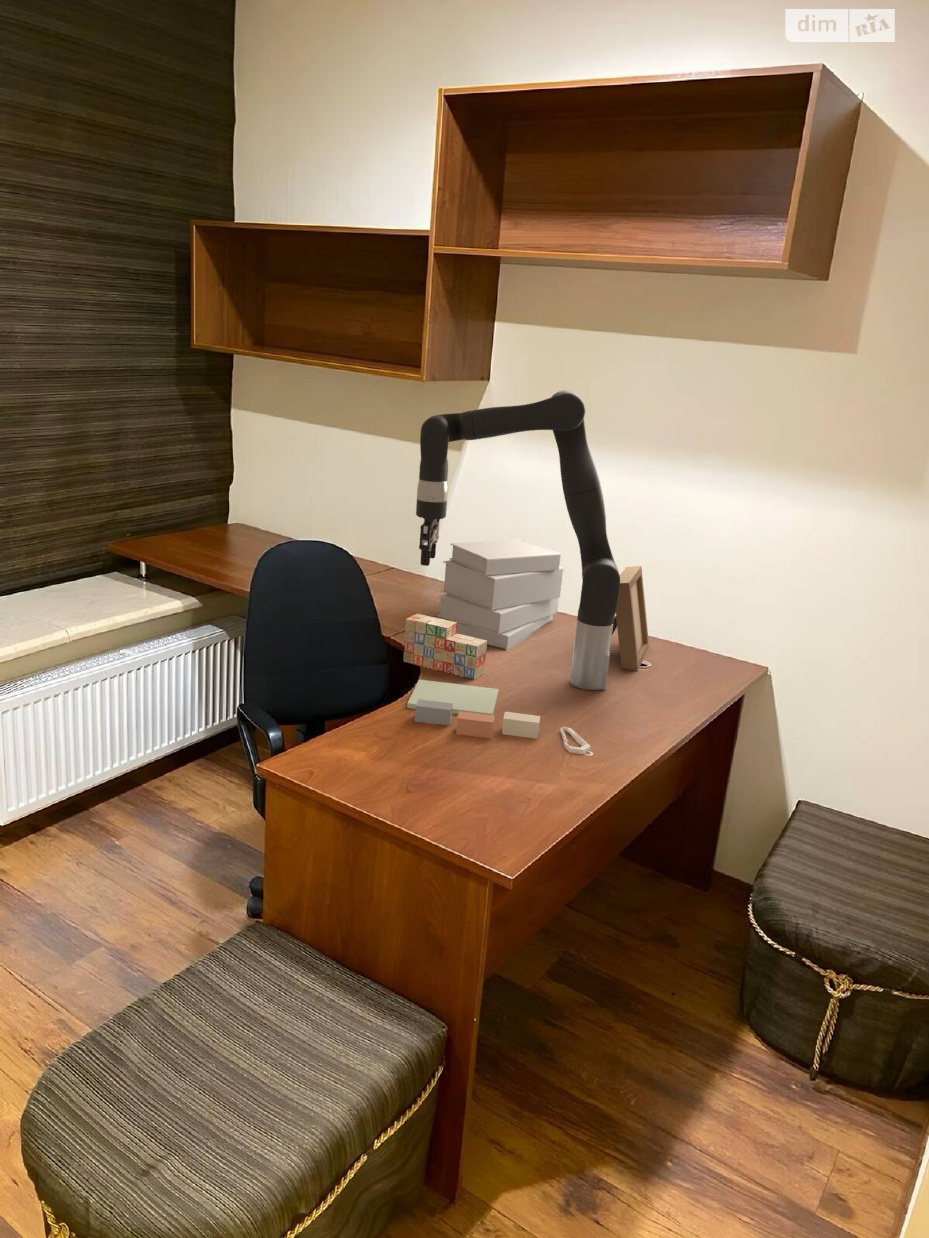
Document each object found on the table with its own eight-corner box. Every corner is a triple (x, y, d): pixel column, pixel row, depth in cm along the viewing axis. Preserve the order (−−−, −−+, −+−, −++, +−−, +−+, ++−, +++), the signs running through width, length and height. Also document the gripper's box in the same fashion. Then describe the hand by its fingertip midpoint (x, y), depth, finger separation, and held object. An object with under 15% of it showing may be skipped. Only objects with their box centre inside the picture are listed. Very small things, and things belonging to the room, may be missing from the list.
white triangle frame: (548, 734, 211) (549, 727, 211) (568, 732, 213) (568, 725, 213) (574, 759, 200) (575, 751, 199) (594, 757, 202) (595, 749, 201)
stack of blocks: (484, 674, 244) (488, 629, 241) (473, 680, 239) (477, 635, 235) (414, 655, 253) (417, 612, 250) (402, 662, 248) (405, 617, 244)
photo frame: (648, 651, 273) (661, 569, 265) (637, 674, 253) (650, 586, 245) (599, 642, 277) (609, 561, 270) (583, 664, 257) (594, 577, 250)
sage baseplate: (498, 693, 231) (498, 689, 231) (492, 718, 216) (492, 713, 216) (418, 683, 233) (419, 679, 233) (407, 707, 218) (407, 703, 217)
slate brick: (451, 719, 214) (453, 703, 213) (449, 726, 210) (450, 710, 209) (417, 715, 215) (418, 699, 214) (414, 722, 211) (415, 705, 210)
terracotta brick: (493, 731, 209) (494, 715, 208) (491, 739, 205) (493, 722, 204) (457, 727, 210) (459, 711, 209) (455, 734, 206) (457, 718, 205)
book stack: (565, 628, 289) (575, 547, 281) (518, 657, 259) (527, 567, 251) (479, 608, 302) (486, 530, 294) (424, 634, 272) (431, 548, 264)
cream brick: (538, 732, 211) (540, 716, 210) (537, 739, 207) (539, 722, 206) (503, 727, 212) (505, 711, 211) (501, 734, 208) (503, 718, 207)
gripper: (442, 504, 224) (437, 569, 229) (451, 495, 238) (446, 556, 242) (411, 501, 225) (407, 566, 230) (422, 492, 238) (418, 554, 243)
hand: (427, 561), depth 236 cm, fingers open, 8 cm apart
